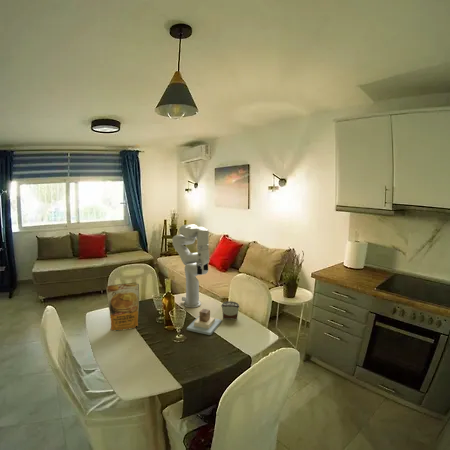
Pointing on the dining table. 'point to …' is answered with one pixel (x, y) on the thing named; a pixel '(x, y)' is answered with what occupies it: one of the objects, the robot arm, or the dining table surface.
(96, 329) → the dining table surface
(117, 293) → the pancake mix bag
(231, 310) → the food container
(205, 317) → the walnut block
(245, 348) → the dining table surface
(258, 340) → the dining table surface
